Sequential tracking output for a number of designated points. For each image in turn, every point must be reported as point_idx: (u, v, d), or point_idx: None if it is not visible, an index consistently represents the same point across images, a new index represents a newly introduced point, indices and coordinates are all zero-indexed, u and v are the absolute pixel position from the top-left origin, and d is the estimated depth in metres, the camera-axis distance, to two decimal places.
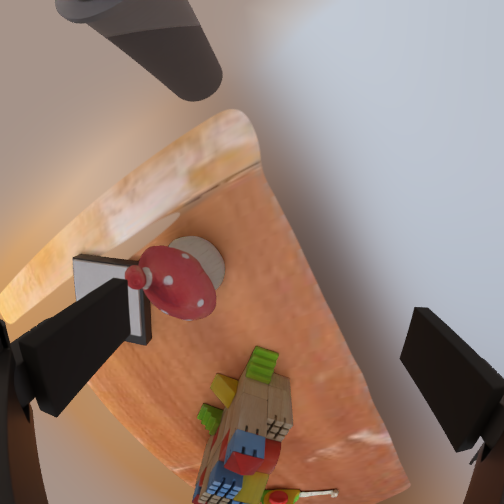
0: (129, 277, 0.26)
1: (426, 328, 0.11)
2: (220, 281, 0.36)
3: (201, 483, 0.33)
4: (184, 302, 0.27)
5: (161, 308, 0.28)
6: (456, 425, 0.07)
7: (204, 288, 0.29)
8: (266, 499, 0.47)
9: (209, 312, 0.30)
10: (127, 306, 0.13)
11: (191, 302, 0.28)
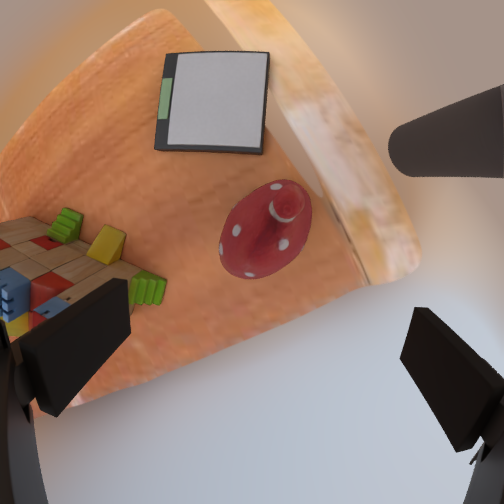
0: (293, 199, 0.20)
1: (425, 328, 0.11)
2: None
3: None
4: (254, 262, 0.22)
5: (243, 229, 0.22)
6: (456, 425, 0.07)
7: (265, 275, 0.24)
8: None
9: (231, 273, 0.25)
10: (127, 306, 0.13)
11: (253, 268, 0.23)
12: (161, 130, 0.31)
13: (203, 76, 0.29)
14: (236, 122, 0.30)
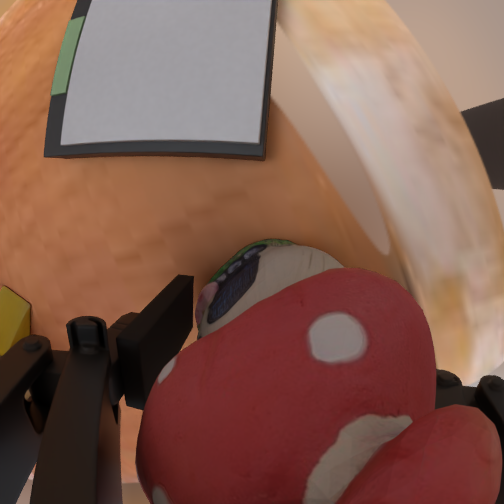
0: None
1: None
2: None
3: None
4: None
5: None
6: None
7: None
8: None
9: None
10: (192, 301, 0.14)
11: None
12: (56, 117, 0.13)
13: (139, 0, 0.11)
14: (202, 84, 0.12)
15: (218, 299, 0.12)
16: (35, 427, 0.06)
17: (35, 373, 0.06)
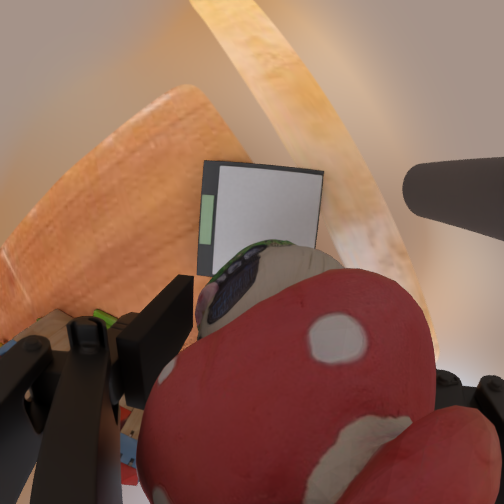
0: None
1: None
2: None
3: None
4: None
5: None
6: None
7: None
8: None
9: None
10: (192, 301, 0.14)
11: None
12: (204, 255, 0.32)
13: (251, 199, 0.30)
14: None
15: (218, 299, 0.12)
16: (35, 427, 0.06)
17: (35, 373, 0.06)
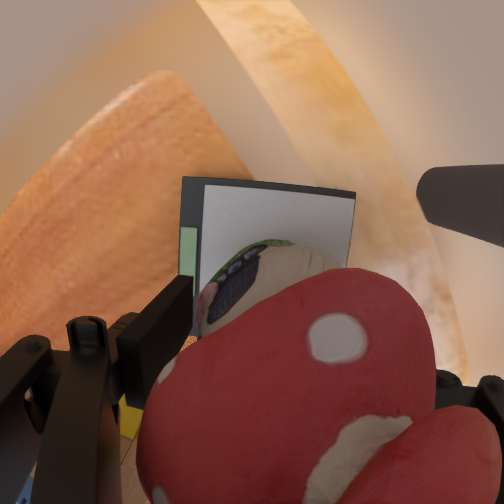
0: None
1: None
2: None
3: None
4: None
5: None
6: None
7: None
8: None
9: None
10: (192, 301, 0.14)
11: None
12: None
13: (250, 235, 0.20)
14: None
15: (218, 299, 0.12)
16: (35, 427, 0.06)
17: (35, 373, 0.06)
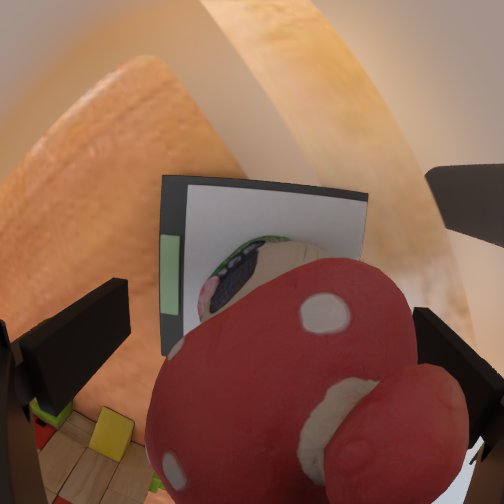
0: (439, 481, 0.02)
1: (425, 328, 0.11)
2: None
3: None
4: None
5: (193, 488, 0.04)
6: None
7: None
8: None
9: None
10: (127, 306, 0.13)
11: None
12: (170, 330, 0.19)
13: None
14: None
15: (219, 291, 0.13)
16: None
17: None
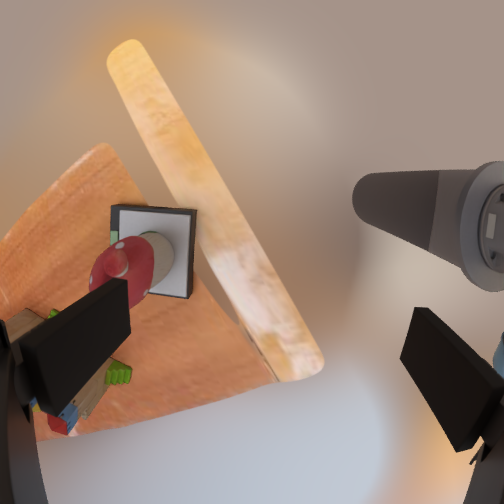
0: (113, 263, 0.24)
1: (425, 328, 0.11)
2: None
3: None
4: None
5: (93, 280, 0.26)
6: (456, 425, 0.07)
7: None
8: None
9: None
10: (127, 306, 0.13)
11: None
12: None
13: None
14: (167, 277, 0.40)
15: None
16: None
17: None
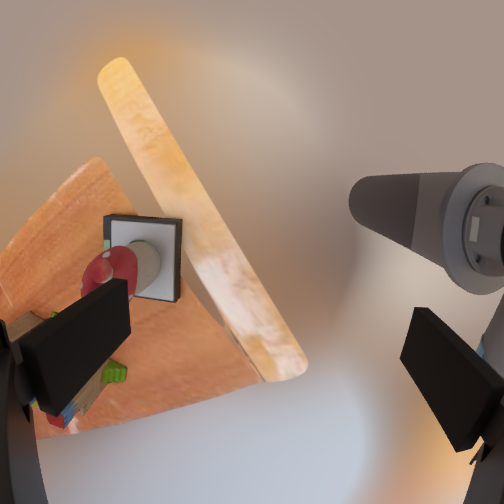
0: (98, 270, 0.27)
1: (425, 328, 0.11)
2: None
3: None
4: None
5: (83, 286, 0.29)
6: (456, 425, 0.07)
7: None
8: None
9: None
10: (127, 306, 0.13)
11: None
12: None
13: None
14: (156, 282, 0.43)
15: None
16: None
17: None
